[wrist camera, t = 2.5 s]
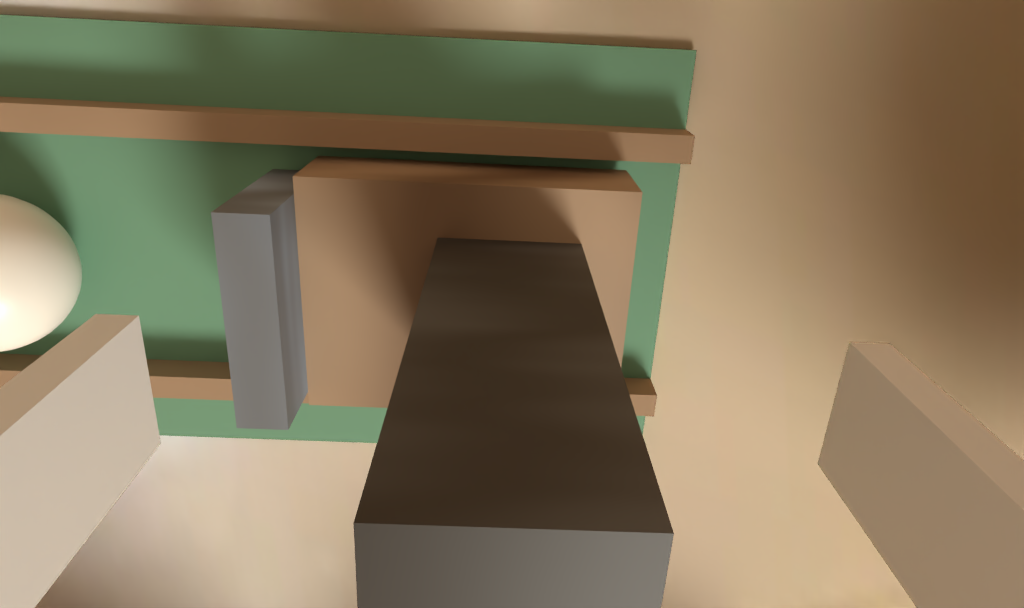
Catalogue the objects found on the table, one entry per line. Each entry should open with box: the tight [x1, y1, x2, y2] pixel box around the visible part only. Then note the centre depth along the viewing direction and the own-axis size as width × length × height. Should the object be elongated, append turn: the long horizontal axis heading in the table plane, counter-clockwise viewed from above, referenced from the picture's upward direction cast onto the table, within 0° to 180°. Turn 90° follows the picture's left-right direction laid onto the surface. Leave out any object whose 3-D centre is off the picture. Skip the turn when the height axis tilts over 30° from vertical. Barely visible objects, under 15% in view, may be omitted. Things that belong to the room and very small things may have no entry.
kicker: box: [211, 156, 674, 608], centre depth 14 cm, size 9×6×12 cm, turn 87°
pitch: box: [0, 15, 697, 443], centre depth 19 cm, size 32×12×1 cm, turn 87°
